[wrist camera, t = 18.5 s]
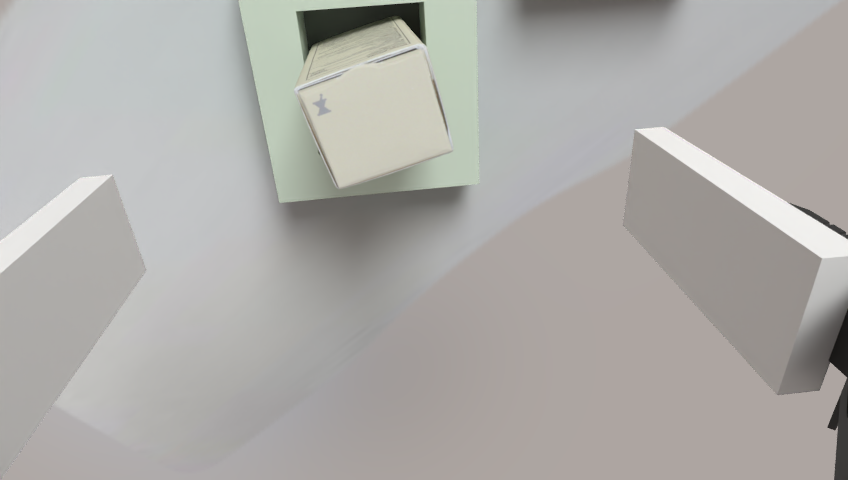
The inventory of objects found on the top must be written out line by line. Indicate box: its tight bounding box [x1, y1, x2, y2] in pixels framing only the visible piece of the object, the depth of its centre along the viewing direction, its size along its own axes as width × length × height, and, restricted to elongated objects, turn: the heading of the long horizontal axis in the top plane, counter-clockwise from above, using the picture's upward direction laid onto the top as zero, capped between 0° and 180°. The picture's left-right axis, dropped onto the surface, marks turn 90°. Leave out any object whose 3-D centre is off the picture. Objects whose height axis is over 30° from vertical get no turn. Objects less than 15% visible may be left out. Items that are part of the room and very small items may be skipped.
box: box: [294, 15, 454, 189], centre depth 25 cm, size 5×4×11 cm
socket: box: [238, 0, 479, 203], centre depth 29 cm, size 11×12×3 cm
